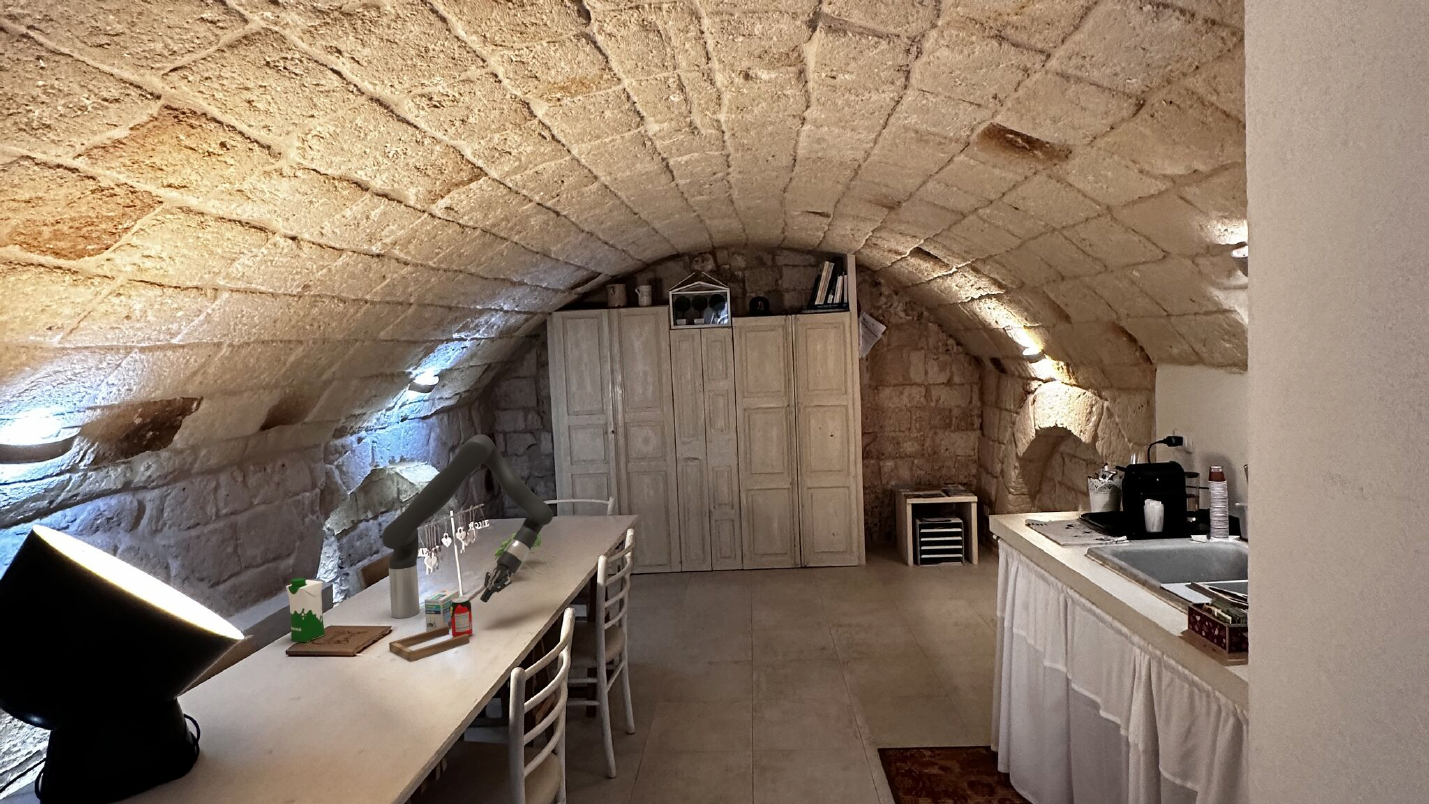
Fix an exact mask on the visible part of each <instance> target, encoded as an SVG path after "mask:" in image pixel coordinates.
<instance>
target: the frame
mask: <svg viewBox="0 0 1429 804" xmlns="http://www.w3.org/2000/svg"><path fill="white" fill-rule="evenodd" d="M447 635H450V628H449V626H447V625H446V626H443V627H440V628H436V629H433V630H430V631H423V632H420V633H418V634H414V635H410V636H407V637H404V638H400V639H397V640H394V641H390V642H389V643H388V645H389V646H388V649H389V652H392V653H394V654H395V655H397V656H399V657H401V658H403V659H405V660H407V661H409V662H415V661H417V660H420V659H423V658H426V657H429V656H433V655H436V654H439V653H441V652H445V651H448V650H451V649H454V648H456V647H460V646H463V645H467V644H470V643H469V642H470V636H469V634H464V635H461V636H458V637H452V638H449V639H446V640H442V641H439V642H436V643H433V644H430V645H426V646H424V647H421V648H418V649H417V648H416V649H414V650H412V649H411V648H408V647H411V646H416V645H418V644H421V643H425V642H427V641H431V640H435V639H438V638H441V637H443V636H447Z"/></svg>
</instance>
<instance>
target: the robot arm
mask: <svg viewBox="0 0 1429 804" xmlns="http://www.w3.org/2000/svg"><path fill="white" fill-rule="evenodd" d="M483 464H484V465H485V466H486V467H487V468H488V469H489V470H490V471H491V472H492V473H493V475H494V476H495V478H496V480H497V481H498V484H499V486H500V487H501V489H502V490H503V492H504V494H506V496H507V497H508V498H509V499H510V500H511V501H512V502H513V503H514V504H515V506H516V507H518V508H519V509H522V510H524V511H525V512H526V513H527V515H526V517H525V519H524V521H523V522H522V524H521V527H520V529H519V530H517V531H518V532H517V531H516V535H515V536H514V538H512V540H511V542H510V543H509V544H508V545H507V547H506V548H505V550H504V551H503V552H502V554H501V555H500V556H499V557H498V558H497V559H496V567H495V568H493V570H492V571H491V572H489V571H487V572H486V573H485V576H484V582H483V586H484V588H485V590H484V592H483V593H482V595H481V596H480V598H479V600H480V601H482V602H483V603H488V602H489V601H490V599H491V598H492V596H493V595H494V594H495V593H500V592H501V591H502V590H504V589H506V588H508V586H510V585H511V584H512V583H513V582H512V580H511V579H510V578H511V577H512V574H513V575H516V574H517V573H518V571H517V570H518V569H519V567H520V566H521V564H522V563H523V561H524V560H525V558H526V559H527V558H528V555H529V554H528V553H530V552H531V551H530V549H531V550H532V549H533V547H532V546H533V545H534V543H536V542H537V541H536V540H537V535H538V534H539V533H540V532H541V531H542V530H543V528H544V527H545V526H546V525H549V524H550V523H551V522H552V520H553V518H554V512H553V511H552V509H551V507H550V506H549V505H548V504H547V503H546V501H544V500H542V499H541V498H540V497H539V496H537V495H536V494H535V493H533V491H532V490H531V489H530V487H528V485H526V483H525V482H524V481H523V480H522V479H521V478H520V476H518V475H517V473H515V471H514V469H512V467H511V466H510V465H509V463H508V462H507V461H506V459H505V458H504V456H503V455H502V454H501V451H500V450H499V448H497V446H496V445H495V443H494V442H493V440H492V439H491V438H490V437H489V436H488V435H485V434H482V433H481V434H476V435H474V436H471V438H469V439H468V440H467V441H465V443H464V444H463V445H462V447H461V448H460V449H459V451H458V452H457V454H456V455H455V456H454V457H453V459H452V460H451V461H450V462H449V463H448V465H446V467H444V468H443V469H442V470H440V471H439V472H438V473H437V474H436V475H435V476H434V477H433V478H432V479H431V480H430V481H429V482H428V483H426V485H425V486H424V487H423V488H422V489H421V491H420V492H419V493H418V494H417V496H415V497H414V499H413V500H412V501H411V503H410V504H409V505H408V506H407V507H406V508H405V509H404V510H403V512H402V513H400V514H399V515H398V516H397V517H396V518H395V519H393V521H391V522H390V523H389V524H387V526H385V528H384V529H383V531H382V535H381V540H382V544H383V545H384V546H385V547H386V548H387V549H391V550H393V551H392V554H391V556H390V557H389V558H388V565H387V566H388V576H389V577H388V579H389V580H388V581H389V597H390V612H391V613H390V614H391V617H392V618H396V619H402V618H403V619H404V618H410V617H414V616H417V615H419V613H421V611H420V597H419V596H420V593H419V579H418V578H419V577H418V576H419V575H418V574H419V573H418V557H419V553H420V552H419V549H420V548H419V545H420V542H419V541H420V539H419V531H418V528H419V527H420V526H421V525H422V524H423V523H425V522H426V521H427V520H428V519H430V518H431V517H433V516H434V515H435V514H436V513H437V512H439V511H440V510H441V509H443V508H444V507H445V506H446V505H447V503H449V502H450V501H451V499H452V498H453V497H454V495H455V494H457V492H458V491H459V489H460V488H461V486H462V484H463V483H464V481H465V480H466V479H467V478H468V477H469V476H470V475H471V474H472V473H473V472H474V471H476V469H477V468H478V467H480V466H481V465H483ZM523 564H524V563H523ZM523 564H522V565H523ZM521 567H522V566H521ZM521 567H520V568H521ZM516 572H517V573H516ZM515 573H516V574H515Z"/></svg>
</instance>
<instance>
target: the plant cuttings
mask: <svg viewBox="0 0 1429 804" xmlns="http://www.w3.org/2000/svg"><path fill="white" fill-rule="evenodd" d="M518 531H519V529H517V531H516V533H517V532H518ZM516 533H515V532H512V534H511V535H510V537H509V539H507V540H505V541H503V542H501V544H502V545H499V546H500V548H498V549H497V550H496V551H494V556H495V557H494V560H495V561H497V560H498V558H499V557H500V555H501V554H502V552H503V551H504V550H505V548H506V547H507V545H508V544H509V543H510V542H511V541H512V539H513V538H514V536H515V535H516ZM541 545H542V538H541V533H540V532H539V534H538V535H537V540H536V542H535V543H534V545H533V546H532V548H531V549H530V551H529V553H528V555H532V556H535V557H536V558H538V559H539V560H541V561H543V562H544V563H546V564H547V565H548V566H550V567H553V568H554V566H553V565H551V564H550V563H548V562H547V561H545V560H543V559H542V558H541V557H538V556H537V555H535V554H534V553H535V548H536V547H539V548H540V549H541V550H542V551H544V552H545V554H547V555H549V556H550V557H552V558H556V559H558V557H557V556H554V555H552V554H550V553H549V552H547V551H546V550H545V549H543V548H542V547H541ZM532 549H533V552H532ZM526 561H527V557H526V558H525V560H524V561H523V563H522V564H521V566H520V567H519V569H518V570H517V572H516V574H517V573H518V572H519V571H520V569H521V567H522V568H524V566H523V565H525V566H526V567H528V568H529V569H531V570H528V569H526V568H524V569H525V570H526V571H528V572H529V573H531V574H533V575H534V576H536V577H538V578H540V579H541V577H540V576H538V575H536V574H539V575H543V573H540V572H538V571H536V570H534V569H533V568H532V567H531V566H529V565H527V564H526V563H525V562H526ZM531 571H532V572H531ZM533 572H535V573H536V574H535V573H533Z"/></svg>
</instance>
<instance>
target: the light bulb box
mask: <svg viewBox="0 0 1429 804" xmlns="http://www.w3.org/2000/svg"><path fill="white" fill-rule="evenodd" d="M459 593H460V591H459V590H445V589H444V590H443V589H441V590H439V591H437V592H435V593H434V594H431V595H430V596H428V597H427V598H425V599H424V612H425V614H424V615H425V630H426V631H430V630H433V629H436V628H440V627H443V626H446V625H447V626H449V629H450V628H451V610H450V606H451V604H452V600H453V599H455V598H459V597H460V594H459ZM451 629H452V628H451ZM426 631H425V632H426Z"/></svg>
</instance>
